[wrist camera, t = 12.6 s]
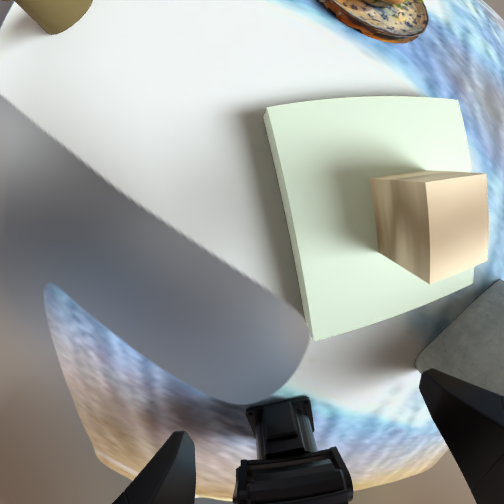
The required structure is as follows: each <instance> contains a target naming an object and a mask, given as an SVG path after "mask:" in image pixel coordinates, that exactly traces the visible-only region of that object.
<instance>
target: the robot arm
mask: <svg viewBox="0 0 504 504" xmlns="http://www.w3.org/2000/svg"><path fill="white" fill-rule="evenodd" d="M419 389H420V392H421V394H422V396H423V399H424V401H425V403H426V405H427V408H428V410H429V412H430V415H431V417H432V419H433V421H434V423H435V424H436V426H437V428H438V430H439V431H440V433H441V435H442V437H443V438H444V440H445V442H446V444H447V446H448V447H449V449H450V451H451V453H452V455H453V456H454V458H455V460H456V462H457V464H458V466H459V468H460V470H461V472H462V473H463V476H464V477H465V480H466V482H467V484H468V486H469V488H470V489H471V492H472V494H473V496H474V499H475V501H476V503H477V504H504V396H503V395H500V394H497V393H494V392H492V391H489V390H487V389H484V388H481V387H479V386H476V385H474V384H471V383H469V382H466V381H464V380H461V379H459V378H456V377H454V376H451V375H449V374H446V373H444V372H442V371H439V370H437V369H434V368H429V369H427V370H425V371H423V372H422V375H421V380H420V384H419ZM304 401H305V402H304ZM250 412H251V413H250ZM246 416H247V418H248V421H249V423H250V425H251V428H252V430H253V432H254V435H255V437H256V446H257V460H241V466H239V468H237V469H236V485H235V490H234V494H233V503H234V504H348V502H350V501H351V500H352V499H353V485H352V480H351V476H350V474H349V471H348V469H347V467H346V465H345V463H344V462H343V460H342V458H341V456H340V454H339V452H338V450H337V448H336V446H335V447H331V448H330V449H326V450H321V451H317V447H316V443H315V439H314V435H313V432H314V424H313V417H312V410H311V403H310V399H309V397H302V398H298V399H293V400H289V401H284V402H280V403H275V404H270V405H264V406H259V407H253V408H248V409H246ZM195 487H196V468H195V446H194V443H193V441H192V440H191V438H190V437H189V435H188V434H187V433H186V432H185V431H175V432H173V434H172V435H171V436H170V437H169V438H168V440H167V441H166V442H165V443H164V445H163V446H162V447H161V448H160V449H159V451H158V452H157V453H156V454H155V456H154V457H153V458H152V459H151V460H150V461H149V463H148V464H147V465H146V466H145V467H144V469H143V470H142V471H141V472H140V473H139V474H138V476H137V477H136V478H135V479H134V480H133V481H132V482H131V484H130V485H129V486H128V487H127V488H126V489H125V492H122V494H121V495H120V496H119V497H118V498H117V499H116V500H115V501H114V502H113V503H112V504H194V499H195Z"/></svg>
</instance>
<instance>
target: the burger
mask: <svg viewBox="0 0 504 504" xmlns="http://www.w3.org/2000/svg"><path fill="white" fill-rule="evenodd" d="M317 1H319V2H322V3H323V4H324V5H325V6H326V8H330V9H331V10H332V11H333V12H334V13H335V14H336V17H337V19H338V20H339V21H342V22H344V23H345V24H346V25H347V26H349V27H352V28H356V29H360V30H361V31H362V32H363V33H362V34H364V35H367V36H369V37H371V38H374V39H377V40H381V41H384V42H390V43H407V42H410V41H413V40H414V39H416V38H417V37H418V35H420V34H421V33H423V32H424V31H425V29H426V27H427V25H428V14H427V11H426V6H425V5H424V3H423V0H317Z"/></svg>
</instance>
